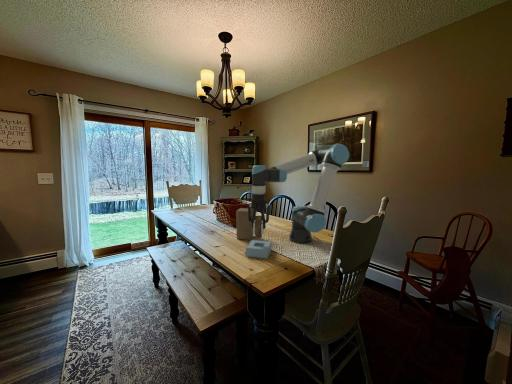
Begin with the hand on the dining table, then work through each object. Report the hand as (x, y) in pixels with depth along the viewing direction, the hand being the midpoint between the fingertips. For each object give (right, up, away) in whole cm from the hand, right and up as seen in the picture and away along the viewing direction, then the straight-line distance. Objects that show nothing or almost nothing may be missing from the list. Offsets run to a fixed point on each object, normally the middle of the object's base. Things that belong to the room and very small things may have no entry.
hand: (258, 233), depth 117 cm
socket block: (0, -11, +2) cm, 12 cm away
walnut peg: (0, -2, 0) cm, 2 cm away
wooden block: (-9, -8, +28) cm, 30 cm away
